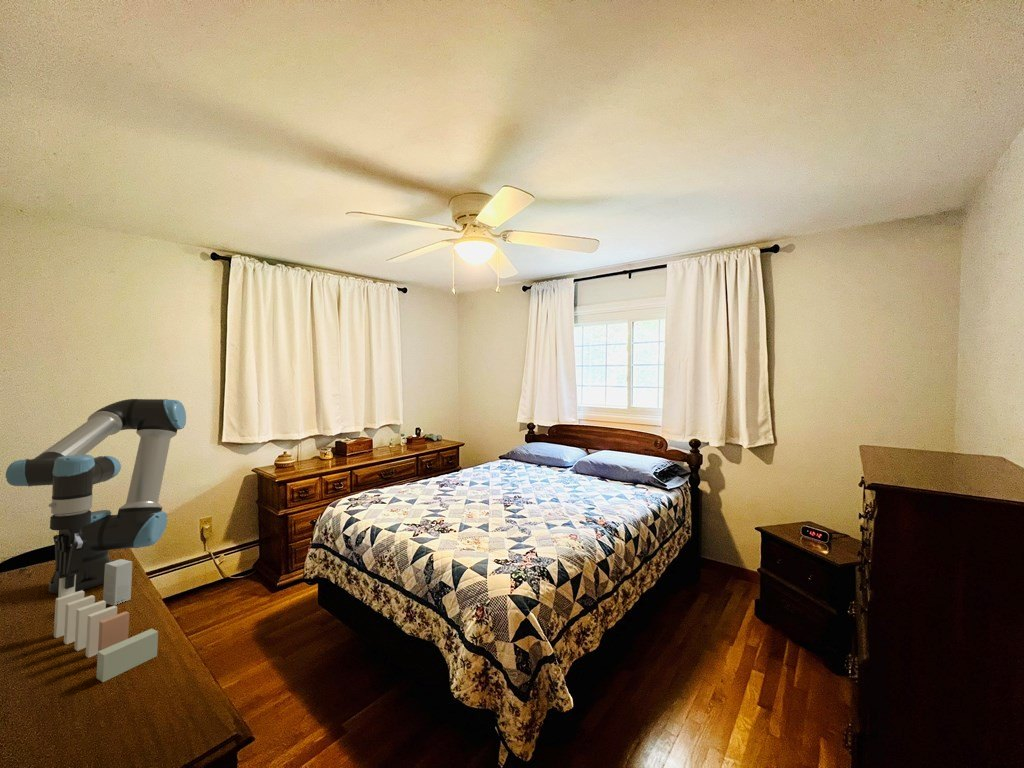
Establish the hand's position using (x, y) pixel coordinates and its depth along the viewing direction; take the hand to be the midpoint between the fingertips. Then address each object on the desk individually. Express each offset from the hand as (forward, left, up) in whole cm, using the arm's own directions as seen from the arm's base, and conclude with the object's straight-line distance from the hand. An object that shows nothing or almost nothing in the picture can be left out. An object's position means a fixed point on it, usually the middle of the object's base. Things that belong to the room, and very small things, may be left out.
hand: (66, 599), depth 108 cm
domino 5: (+15, +21, -9) cm, 27 cm away
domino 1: (+1, +1, -9) cm, 9 cm away
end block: (+19, +27, -9) cm, 34 cm away
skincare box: (-15, +2, -9) cm, 18 cm away
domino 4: (+11, +16, -9) cm, 21 cm away
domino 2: (+4, +6, -9) cm, 11 cm away
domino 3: (+8, +11, -9) cm, 16 cm away
